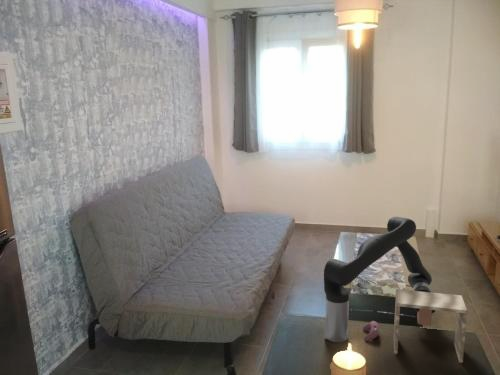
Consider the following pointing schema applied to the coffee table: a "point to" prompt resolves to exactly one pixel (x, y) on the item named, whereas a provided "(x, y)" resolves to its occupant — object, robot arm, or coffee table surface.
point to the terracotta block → (424, 316)
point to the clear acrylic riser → (433, 303)
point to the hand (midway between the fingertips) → (425, 310)
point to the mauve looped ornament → (371, 330)
